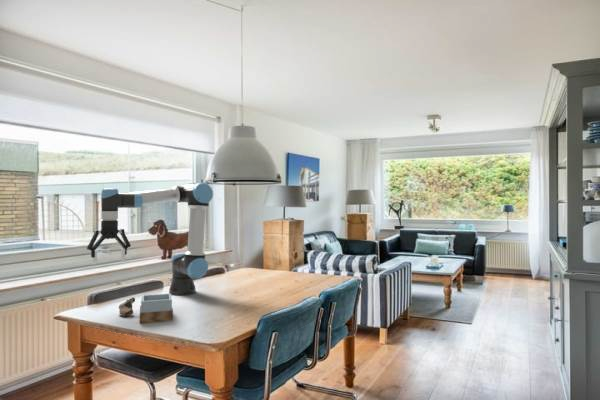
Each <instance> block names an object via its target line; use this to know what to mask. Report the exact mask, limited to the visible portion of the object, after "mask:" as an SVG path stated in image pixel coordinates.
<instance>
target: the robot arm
mask: <svg viewBox="0 0 600 400" xmlns="http://www.w3.org/2000/svg"><path fill="white" fill-rule="evenodd" d="M213 196H214V193H213V189H212V187H211V186H210V185H209V184H208V183H205V182H190V183H184V184H181V185H175V186H172V188H171V187H170V188H162V189H154V190H153V189H151V190H142V191H132V192H119V189H118V188H103V189H102V190H101V196H100V199H101V201H100V202H101V203H100V205H101V210H100V212H101V213H100V216H101V217H100V219H101V221H100V230H98V229H95V230H94V231H93V235H92V237H91V239H90V241H89V244H88V245H87V246H86V250H89V251H90V257H91V258H92V264H93V265H97V264H98V263H97V261H98V251H97V249H98V247H99V246H100V245H101V244H102V243H103V241H105V240H111V239H113V240H115V241H116V242H117V243H118V244H119V245H120V246H121V247H122V248H121V251H120V253H121V254H120V262H121V263H122V262H126V256H127V253H128V248H131V243H130V241H129V239H128V238H127V237H128V236H127V235H126V233H125V229H124V228H120V229H119V228H118V227H119V221H118V219H119V209H123V208H124V209H129V208H130V209H133V208H134V209H136V208H141V207H143V206H145V205H153V204H159V203H160V204H162V203H172V202H174V203H187V206H188V208H189V210H190V211H189V220H188V222H189V223H188V235H187V236H188V237H187V251H185V252H184V253H175V254H173V255H172V259H171V261H172V262H171V269H172V270H171V271H172V272H171V277H172V278H171V283H170V286H169V289H168V291H169V292H168V294H171V296H172V295H174V296H185V295H191V294H195V293H196V292H197V290H196V285H195V282H194V279H200V278H203V277H204V276H205V275H206V274H207V272H208V270H209V263H208V261H207V260H206V253H205V252H204V241H205V239H204V238H205V226H206V225H205V224H206V210H207V209H208V208H209V204H210V202H211V201H212V199H213ZM118 234H119V235H120V236H121V238H120V236H119V235H118ZM99 235H101V236H99ZM98 237H99V238H98ZM97 239H98V240H97Z"/></svg>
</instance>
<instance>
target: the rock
mask: <svg viewBox="0 0 600 400" xmlns="http://www.w3.org/2000/svg"><path fill="white" fill-rule="evenodd" d="M135 302H136V298H135V297H131V298H129V299H127V300H126V301H124V302H122V303H121V304H119V306H118V310H119V311H118V312H119V314H118V315H119V316H121V317H122V316H125V317H127V318H130V317H131V316H132V315H133V313H134V310H133V304H134V303H135Z"/></svg>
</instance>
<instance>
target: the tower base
mask: <svg viewBox="0 0 600 400" xmlns="http://www.w3.org/2000/svg"><path fill="white" fill-rule="evenodd" d="M173 321H174V310H173V308H172V311H159V312H146V313H141V305H139V325H140V324H142V325H143V324H151V323H154V324H155V323H163V322H173Z"/></svg>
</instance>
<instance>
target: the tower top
mask: <svg viewBox="0 0 600 400" xmlns="http://www.w3.org/2000/svg"><path fill="white" fill-rule="evenodd" d="M140 306H141V313H146V312H159V311H172V309H173V299H172V294H169V293H160V294H159V293H158V294H155V293H154V294H142V295H141V301H140Z"/></svg>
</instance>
